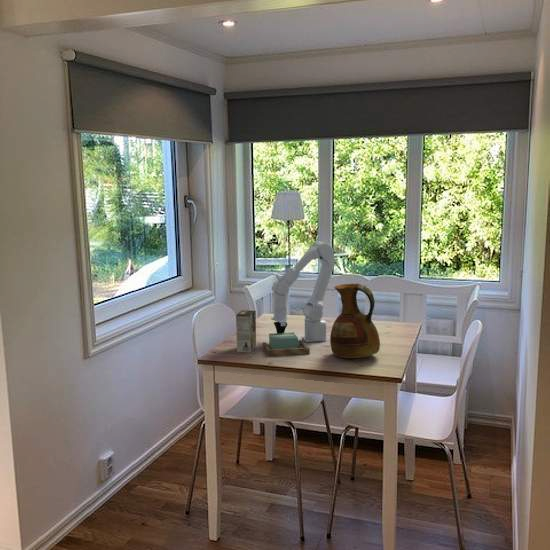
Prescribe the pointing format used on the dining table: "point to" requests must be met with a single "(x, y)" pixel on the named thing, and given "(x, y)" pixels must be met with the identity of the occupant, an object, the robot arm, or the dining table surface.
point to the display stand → (287, 350)
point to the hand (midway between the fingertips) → (280, 338)
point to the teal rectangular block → (283, 340)
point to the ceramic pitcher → (354, 325)
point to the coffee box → (246, 331)
